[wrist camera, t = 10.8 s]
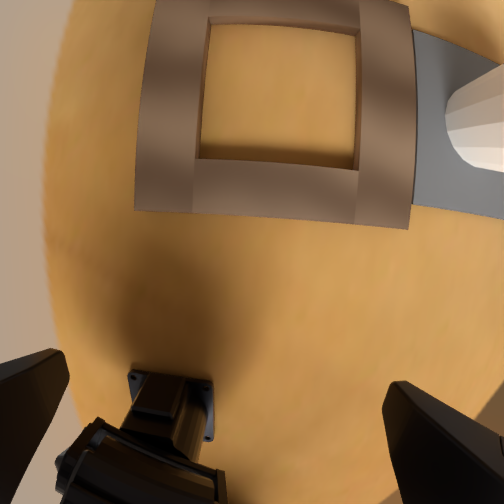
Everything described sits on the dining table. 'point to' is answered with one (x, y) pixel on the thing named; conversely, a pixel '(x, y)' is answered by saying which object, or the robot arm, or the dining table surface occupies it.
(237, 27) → the dining table surface
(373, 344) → the dining table surface
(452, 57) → the rubber mat
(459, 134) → the white cup
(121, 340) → the dining table surface
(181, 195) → the board
